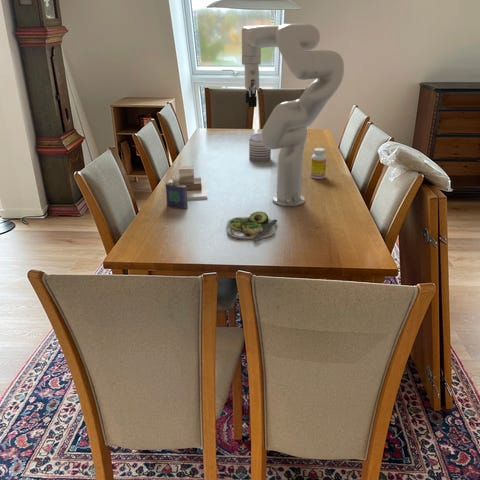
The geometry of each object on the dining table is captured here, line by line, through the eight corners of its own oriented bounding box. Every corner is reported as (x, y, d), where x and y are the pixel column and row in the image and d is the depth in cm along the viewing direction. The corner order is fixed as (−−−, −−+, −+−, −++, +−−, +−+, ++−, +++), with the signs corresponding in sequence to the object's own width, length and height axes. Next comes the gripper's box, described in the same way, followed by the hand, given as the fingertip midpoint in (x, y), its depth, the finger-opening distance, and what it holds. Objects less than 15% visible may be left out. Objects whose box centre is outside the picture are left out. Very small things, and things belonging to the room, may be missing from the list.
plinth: (201, 190, 193) (201, 183, 191) (172, 191, 192) (172, 184, 190) (201, 184, 200) (200, 177, 198) (173, 185, 199) (172, 178, 197)
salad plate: (280, 245, 150) (280, 232, 148) (225, 245, 150) (224, 232, 148) (276, 221, 168) (277, 209, 166) (227, 221, 168) (227, 209, 166)
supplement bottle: (324, 179, 208) (326, 151, 202) (309, 178, 209) (311, 150, 203) (325, 175, 214) (327, 147, 208) (310, 174, 215) (312, 147, 209)
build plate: (207, 198, 187) (207, 196, 187) (167, 200, 186) (167, 197, 185) (205, 181, 207) (205, 178, 206) (169, 182, 205) (168, 180, 205)
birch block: (194, 182, 193) (193, 168, 190) (179, 183, 192) (178, 169, 189) (193, 179, 197) (193, 165, 194) (179, 179, 196) (178, 165, 193)
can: (271, 156, 242) (272, 133, 236) (270, 163, 231) (271, 139, 226) (249, 156, 243) (249, 133, 237) (247, 162, 233) (247, 138, 227)
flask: (189, 207, 179) (187, 181, 174) (184, 210, 177) (183, 183, 172) (169, 203, 183) (167, 177, 178) (165, 206, 180) (162, 179, 176)
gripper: (263, 62, 176) (263, 108, 184) (257, 58, 192) (257, 101, 199) (244, 62, 176) (244, 108, 183) (239, 58, 191) (239, 101, 199)
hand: (251, 104), depth 191 cm, fingers open, 9 cm apart
